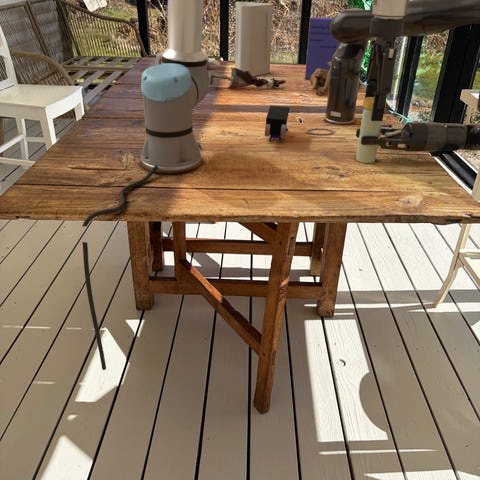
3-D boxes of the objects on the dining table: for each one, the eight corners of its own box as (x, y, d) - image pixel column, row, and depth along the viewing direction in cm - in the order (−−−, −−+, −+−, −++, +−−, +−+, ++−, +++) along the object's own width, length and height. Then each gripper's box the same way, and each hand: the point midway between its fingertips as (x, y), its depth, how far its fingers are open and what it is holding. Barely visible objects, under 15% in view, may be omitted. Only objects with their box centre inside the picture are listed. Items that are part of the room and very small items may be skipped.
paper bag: (273, 76, 210) (276, 6, 196) (239, 77, 209) (240, 6, 194) (266, 67, 226) (268, 2, 212) (235, 67, 225) (235, 1, 210)
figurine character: (286, 149, 136) (289, 127, 148) (287, 124, 131) (290, 104, 143) (262, 148, 137) (267, 126, 149) (263, 123, 132) (268, 103, 144)
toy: (175, 75, 210) (174, 58, 206) (151, 64, 228) (150, 49, 224) (222, 69, 222) (222, 53, 218) (195, 59, 239) (195, 45, 236)
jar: (354, 161, 126) (362, 105, 118) (357, 155, 130) (366, 100, 122) (373, 164, 124) (382, 107, 117) (376, 157, 128) (385, 102, 121)
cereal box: (344, 77, 210) (352, 18, 198) (346, 80, 206) (353, 19, 194) (305, 76, 211) (309, 17, 199) (305, 79, 207) (310, 18, 195)
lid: (361, 108, 118) (362, 101, 117) (363, 103, 123) (364, 96, 122) (384, 111, 117) (385, 103, 116) (385, 105, 121) (387, 98, 120)
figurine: (210, 87, 179) (288, 95, 182) (212, 65, 176) (291, 73, 180) (208, 84, 201) (278, 91, 205) (210, 64, 198) (280, 71, 202)
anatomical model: (320, 97, 196) (320, 98, 182) (304, 82, 195) (303, 82, 181) (342, 73, 192) (344, 72, 177) (327, 57, 191) (327, 56, 177)
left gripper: (361, 11, 118) (349, 104, 130) (383, 22, 100) (367, 128, 112) (391, 12, 118) (376, 104, 130) (419, 22, 100) (399, 128, 112)
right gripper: (417, 114, 128) (354, 114, 128) (437, 131, 116) (368, 131, 116) (411, 141, 132) (350, 141, 132) (430, 160, 120) (363, 160, 120)
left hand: (372, 115), depth 121 cm, fingers open, 8 cm apart
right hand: (359, 136), depth 124 cm, fingers closed on jar, 5 cm apart
